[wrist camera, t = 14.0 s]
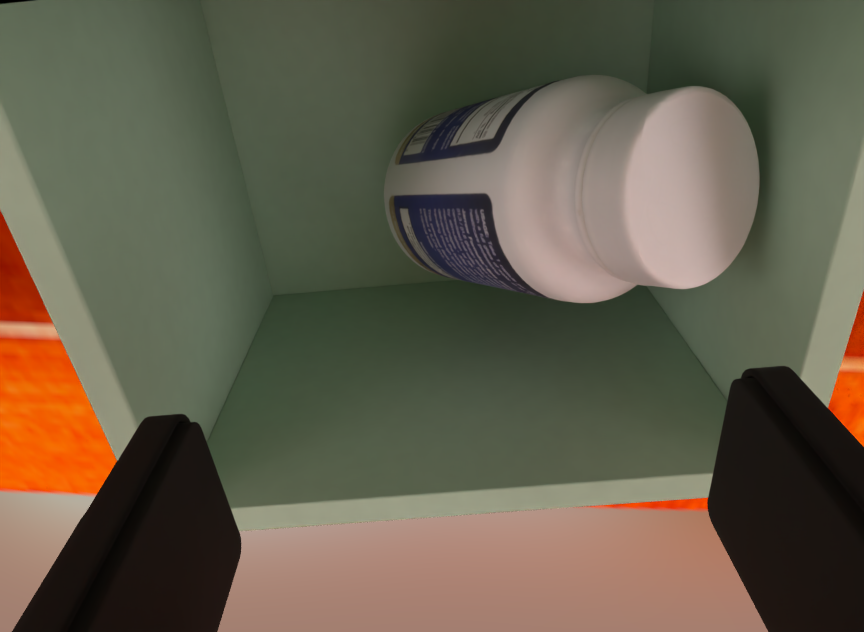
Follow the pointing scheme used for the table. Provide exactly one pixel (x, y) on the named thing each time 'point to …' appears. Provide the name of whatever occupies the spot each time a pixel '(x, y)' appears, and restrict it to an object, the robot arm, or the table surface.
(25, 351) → the table surface
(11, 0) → the lid
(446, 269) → the pill bottle
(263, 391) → the chest
